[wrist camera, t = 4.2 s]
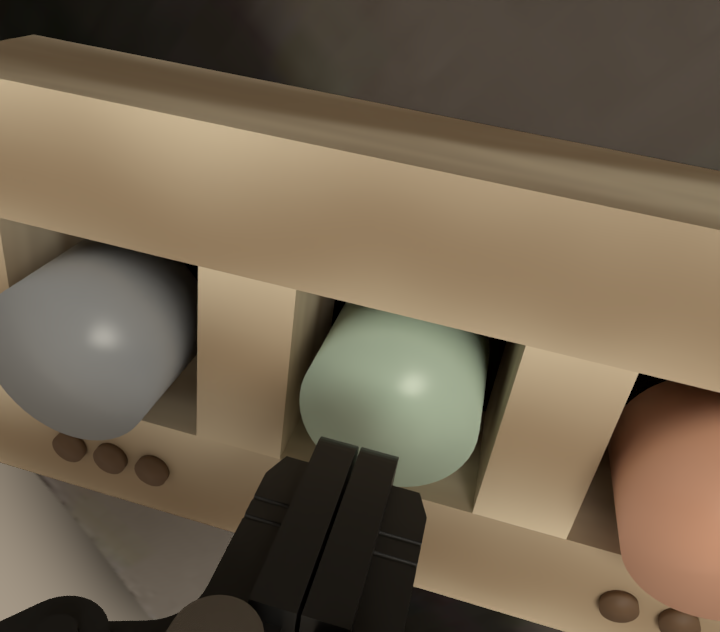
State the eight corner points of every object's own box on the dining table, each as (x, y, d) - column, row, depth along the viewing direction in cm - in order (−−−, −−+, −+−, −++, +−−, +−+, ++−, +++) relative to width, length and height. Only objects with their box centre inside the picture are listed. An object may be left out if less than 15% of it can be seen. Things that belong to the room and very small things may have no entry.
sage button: (345, 258, 16) (308, 317, 14) (507, 296, 16) (500, 365, 13) (327, 388, 18) (292, 459, 16) (470, 425, 18) (457, 506, 15)
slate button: (57, 214, 16) (-34, 265, 14) (210, 250, 16) (145, 310, 13) (72, 348, 18) (-5, 414, 16) (207, 385, 18) (150, 459, 15)
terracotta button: (643, 354, 14) (663, 443, 12) (840, 401, 14) (906, 505, 11) (585, 486, 16) (593, 586, 14) (754, 532, 16) (795, 645, 13)
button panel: (34, 34, 17) (-104, 60, 13) (983, 223, 14) (1133, 321, 10) (72, 381, 22) (-16, 463, 19) (750, 567, 19) (796, 708, 16)
